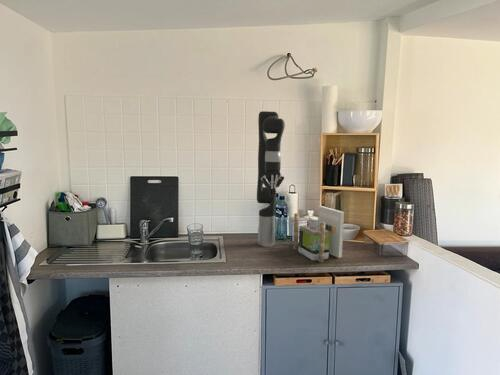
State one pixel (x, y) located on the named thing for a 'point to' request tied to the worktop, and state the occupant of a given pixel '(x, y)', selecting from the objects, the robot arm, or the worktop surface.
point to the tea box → (312, 241)
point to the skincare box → (313, 221)
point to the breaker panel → (333, 228)
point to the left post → (296, 231)
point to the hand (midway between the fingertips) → (272, 195)
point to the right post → (321, 242)
